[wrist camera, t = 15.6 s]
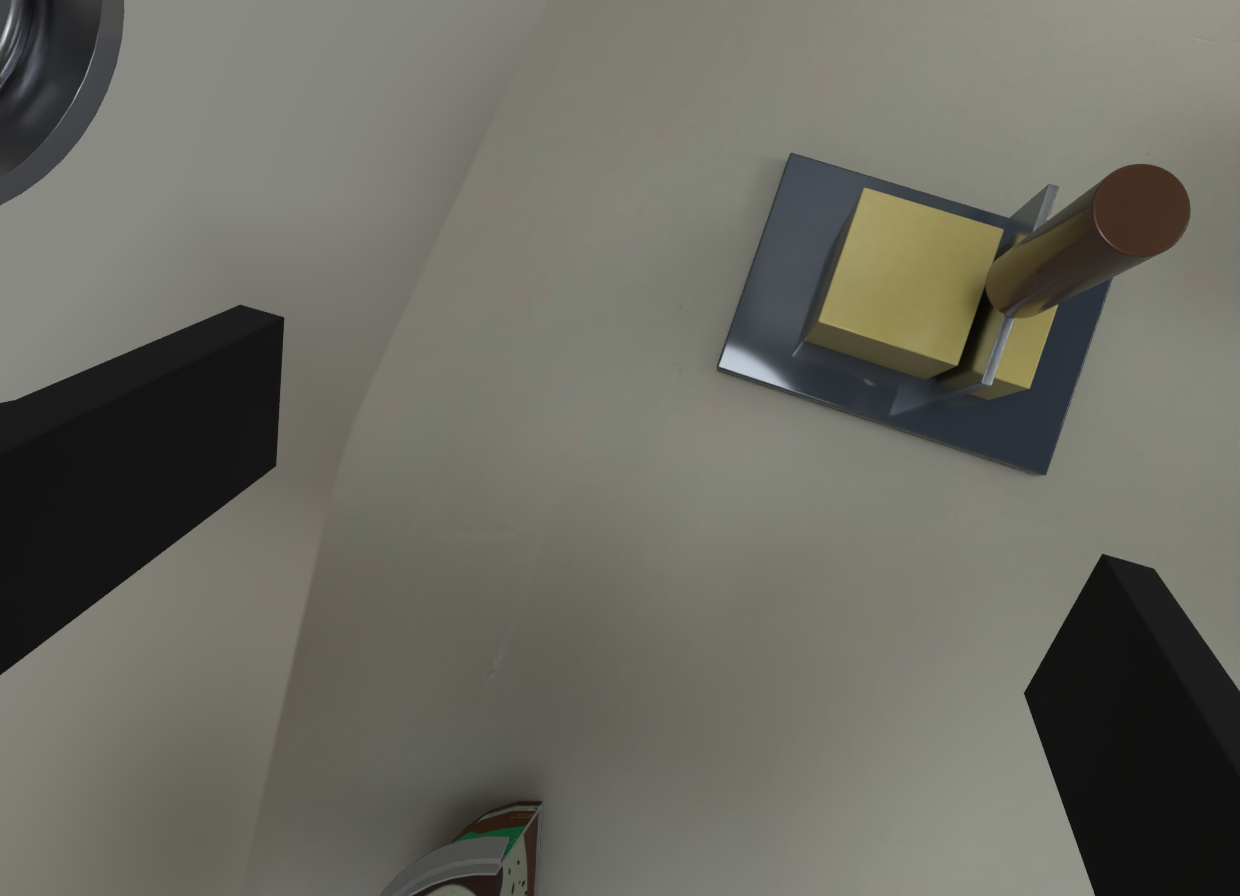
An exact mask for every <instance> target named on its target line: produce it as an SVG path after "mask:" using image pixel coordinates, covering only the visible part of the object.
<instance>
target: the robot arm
mask: <svg viewBox="0 0 1240 896" xmlns="http://www.w3.org/2000/svg"><path fill="white" fill-rule="evenodd" d="M33 7H34V0H0V89H1V88H2V86H3V85H4V83H5V82H6V81H7V79H8V78H9V76H10V75H11V73H12V71H13V70H14V68H15V66H16V64H17V62H18V60H19V58H20V56H21V54H22V52H23V49H24V46H25V43H26V41H27V38H28V34H29V30H30V26H31V21H32V15H33ZM283 330H284V317H281V316H277V315H274V314H271V313H267V312H264V311H260V310H256V309H253V308H249V307H246V306H243V305H238V306H236V307H234V308H231V309H229V310H227V311H225V312H222V313H220V314H217V315H215V316H212V317H210V318H208V319H205V320H203V321H201V322H198V323H196V324H194V325H191V326H189V327H187V328H184V329H182V330H179V331H177V332H175V333H172V334H170V335H168V336H165V337H163V338H161V339H158V340H156V341H154V342H151V343H149V344H146V345H144V346H142V347H139V348H137V349H135V350H132V351H130V352H128V353H125V354H123V355H121V356H118V357H116V358H113V359H111V360H109V361H106V362H104V363H102V364H99V365H97V366H95V367H92V368H90V369H88V370H85V371H83V372H81V373H78V374H76V375H73V376H71V377H69V378H66V379H64V380H61V381H59V382H57V383H54V384H52V385H50V386H47V387H45V388H43V389H41V390H38V391H36V392H33V393H31V394H28V395H26V396H24V397H22V398H19V399H17V400H13V401H8V402H3V403H0V675H1V674H2V673H3V672H5V671H6V670H8V669H9V668H10V667H12V666H13V665H14V664H15V663H17V662H18V661H19V660H21V659H22V658H24V657H25V656H26V655H27V654H29V653H30V652H31V651H33V650H34V649H35V648H37V647H38V646H39V645H41V644H42V643H43V642H45V641H46V640H47V639H49V638H50V637H51V636H52V635H54V634H55V633H57V632H58V631H59V630H60V629H62V628H63V627H64V626H66V625H67V624H68V623H70V622H71V621H72V620H73V619H75V618H76V617H78V616H79V615H80V614H81V613H83V612H84V611H85V610H87V609H88V608H89V607H91V606H92V605H93V604H95V603H96V602H97V601H99V600H100V599H101V598H103V597H104V596H105V595H107V594H108V593H109V592H111V591H112V590H113V589H115V588H116V587H117V586H118V585H120V584H121V583H122V582H124V581H125V580H126V579H128V578H129V577H130V576H132V575H133V574H134V573H136V572H137V571H138V570H140V569H141V568H142V567H143V566H145V565H146V564H147V563H149V562H150V561H151V560H153V559H154V558H155V557H157V556H158V555H159V554H161V553H162V552H163V551H165V550H166V549H167V548H169V547H170V546H171V545H173V544H174V543H175V542H176V541H178V540H179V539H180V538H182V537H183V536H184V535H186V534H187V533H188V532H190V531H191V530H192V529H193V528H195V527H196V526H197V525H199V524H200V523H201V522H203V521H204V520H205V519H207V518H208V517H209V516H211V515H212V514H213V513H214V512H216V511H217V510H219V509H220V508H221V507H223V506H224V505H225V504H226V503H228V502H229V501H230V500H232V499H233V498H234V497H236V496H237V495H238V494H240V493H241V492H242V491H244V490H245V489H246V488H248V487H249V486H250V485H251V484H253V483H254V482H255V481H257V480H258V479H260V478H261V477H262V476H264V475H265V474H266V473H267V472H269V471H270V470H271V469H273V468H274V467H275V466H276V457H277V438H278V421H279V402H280V385H281V367H282V349H283ZM1024 695H1025V698H1026V700H1027V703H1028V706H1029V709H1030V712H1031V715H1032V717H1033V720H1034V723H1035V726H1036V729H1037V732H1038V734H1039V737H1040V740H1041V743H1042V746H1043V749H1044V752H1045V754H1046V757H1047V760H1048V763H1049V766H1050V769H1051V771H1052V774H1053V777H1054V780H1055V783H1056V786H1057V788H1058V791H1059V794H1060V797H1061V800H1062V803H1063V806H1064V808H1065V811H1066V814H1067V817H1068V820H1069V823H1070V825H1071V828H1072V831H1073V834H1074V837H1075V840H1076V842H1077V845H1078V848H1079V851H1080V854H1081V857H1082V860H1083V862H1084V865H1085V868H1086V871H1087V874H1088V877H1089V879H1090V882H1091V885H1092V888H1093V891H1094V894H1095V896H1240V691H1239V690H1238V688H1237V687H1236V685H1235V684H1234V683H1233V681H1232V680H1231V678H1230V677H1229V675H1228V674H1227V673H1226V671H1225V670H1224V668H1223V667H1222V665H1221V664H1220V663H1219V661H1218V660H1217V658H1216V657H1215V655H1214V654H1213V652H1212V651H1211V650H1210V648H1209V647H1208V645H1207V644H1206V642H1205V641H1204V640H1203V638H1202V637H1201V635H1200V634H1199V632H1198V631H1197V630H1196V628H1195V627H1194V625H1193V624H1192V622H1191V621H1190V620H1189V618H1188V617H1187V615H1186V614H1185V612H1184V611H1183V609H1182V608H1181V607H1180V605H1179V604H1178V602H1177V601H1176V599H1175V598H1174V597H1173V595H1172V594H1171V592H1170V591H1169V589H1168V588H1167V587H1166V585H1165V584H1164V582H1163V581H1162V579H1161V578H1160V577H1159V575H1158V574H1157V572H1156V571H1155V569H1153V568H1150V567H1146V566H1143V565H1139V564H1136V563H1132V562H1129V561H1125V560H1122V559H1118V558H1115V557H1111V556H1108V555H1105V554H1102V555H1101V557H1100V559H1099V561H1098V562H1097V564H1096V566H1095V568H1094V569H1093V571H1092V573H1091V575H1090V577H1089V578H1088V580H1087V582H1086V584H1085V586H1084V587H1083V589H1082V591H1081V593H1080V594H1079V596H1078V598H1077V600H1076V602H1075V603H1074V605H1073V607H1072V609H1071V610H1070V612H1069V614H1068V616H1067V618H1066V619H1065V621H1064V623H1063V625H1062V627H1061V628H1060V630H1059V632H1058V634H1057V635H1056V637H1055V639H1054V641H1053V643H1052V644H1051V646H1050V648H1049V650H1048V651H1047V653H1046V655H1045V657H1044V659H1043V660H1042V662H1041V664H1040V666H1039V668H1038V669H1037V671H1036V673H1035V675H1034V676H1033V678H1032V680H1031V682H1030V684H1029V685H1028V687H1027V689H1026V691H1025V692H1024Z"/></svg>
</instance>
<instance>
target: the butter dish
mask: <svg viewBox="0 0 1240 896" xmlns="http://www.w3.org/2000/svg"><path fill="white" fill-rule="evenodd" d="M1007 219H1009V218H1007V217H1004V216H1000V215H997V214H994V213H990V212H987V211H984V210H980V209H977V208H974V207H970V206H967V205H964V204H960V203H957V202H954V201H950V200H947V199H944V198H940V197H937V196H934V195H930V194H927V193H924V192H921V191H917V190H914V189H911V188H907V187H904V186H901V185H897V184H894V183H891V182H887V181H884V180H881V179H877V178H874V177H871V176H867V175H864V174H861V173H857V172H854V171H851V170H847V169H844V168H841V167H837V166H834V165H831V164H827V163H824V162H821V161H817V160H814V159H811V158H807V157H804V156H801V155H797V154H794V153H790V155H789V158H788V161H787V164H786V167H785V170H784V173H783V176H782V179H781V181H780V184H779V187H778V190H777V193H776V196H775V199H774V202H773V205H772V208H771V211H770V214H769V216H768V219H767V222H766V225H765V228H764V231H763V234H762V237H761V240H760V243H759V246H758V249H757V251H756V254H755V257H754V260H753V263H752V266H751V269H750V272H749V275H748V278H747V281H746V284H745V286H744V289H743V292H742V295H741V298H740V301H739V304H738V307H737V310H736V313H735V316H734V319H733V321H732V324H731V327H730V330H729V333H728V336H727V339H726V342H725V345H724V348H723V351H722V354H721V356H720V359H719V362H718V365H717V370H718V371H721V372H724V373H727V374H730V375H733V376H736V377H739V378H742V379H745V380H748V381H751V382H754V383H757V384H760V385H763V386H766V387H769V388H773V389H776V390H779V391H782V392H785V393H788V394H791V395H794V396H797V397H800V398H803V399H806V400H809V401H812V402H815V403H818V404H821V405H824V406H827V407H830V408H833V409H836V410H839V411H842V412H845V413H848V414H851V415H855V416H858V417H861V418H864V419H867V420H870V421H873V422H876V423H879V424H882V425H885V426H888V427H891V428H894V429H897V430H900V431H903V432H906V433H909V434H912V435H915V436H918V437H921V438H924V439H927V440H930V441H933V442H937V443H940V444H943V445H946V446H949V447H952V448H955V449H958V450H961V451H964V452H967V453H970V454H973V455H976V456H979V457H982V458H985V459H988V460H991V461H994V462H997V463H1000V464H1003V465H1006V466H1009V467H1012V468H1015V469H1019V470H1022V471H1025V472H1028V473H1031V474H1034V475H1046V473H1047V470H1048V467H1049V464H1050V462H1051V459H1052V456H1053V453H1054V450H1055V447H1056V444H1057V441H1058V438H1059V435H1060V432H1061V429H1062V426H1063V423H1064V420H1065V417H1066V414H1067V411H1068V408H1069V405H1070V403H1071V400H1072V397H1073V394H1074V391H1075V388H1076V385H1077V382H1078V379H1079V376H1080V373H1081V370H1082V367H1083V364H1084V361H1085V358H1086V355H1087V352H1088V349H1089V347H1090V344H1091V341H1092V338H1093V335H1094V332H1095V329H1096V326H1097V323H1098V320H1099V317H1100V314H1101V311H1102V308H1103V305H1104V302H1105V299H1106V296H1107V293H1108V290H1109V288H1110V285H1111V282H1112V279H1113V277H1112V278H1110V279H1108V280H1106V281H1104V282H1102V283H1100V284H1098V285H1096V286H1094V287H1092V288H1090V289H1088V290H1086V291H1084V292H1082V293H1080V294H1078V295H1076V296H1074V297H1072V298H1070V299H1068V300H1066V301H1064V302H1062V303H1060V304H1058V305H1056V306H1054V307H1052V308H1050V309H1048V310H1046V311H1044V312H1042V313H1040V314H1038V315H1036V316H1033V317H1029V318H1014V321H1013V324H1012V327H1011V330H1010V332H1009V335H1008V338H1007V341H1006V344H1005V347H1004V350H1003V353H1002V356H1001V359H1000V362H999V365H998V368H997V371H996V374H995V377H994V380H993V382H992V385H991V386H990V387H987V388H984V389H981V390H978V391H975V392H972V393H969V394H966V395H963V396H960V397H957V398H954V399H951V400H948V401H945V402H942V403H939V404H936V405H932V404H929V403H927V399H928V396H929V393H930V390H931V387H932V384H933V381H934V378H935V376H936V375H938V374H941V373H943V372H945V371H947V370H949V369H952V368H954V367H956V366H958V364H959V361H960V358H961V355H962V352H963V349H964V346H965V343H966V341H967V338H968V335H969V332H970V329H971V326H972V323H973V320H974V317H975V314H976V311H977V308H978V305H979V302H980V299H981V296H982V294H983V291H984V288H985V285H986V283H985V282H986V276H987V273H988V271H989V269H990V267H991V265H992V264H993V261H994V258H995V255H996V252H997V249H998V246H999V244H1000V241H1001V238H1002V235H1003V232H1004V230H1003V229H1001V228H998V227H999V226H1000V225H1002V224H1003V223H1004V222H1005V221H1006V220H1007Z"/></svg>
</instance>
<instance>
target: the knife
mask: <svg viewBox="0 0 1240 896" xmlns="http://www.w3.org/2000/svg"><path fill="white" fill-rule="evenodd" d="M1058 188H1059V187H1058V186H1055V185H1051V184H1048V185H1047V186H1046V187H1045V188H1044V189H1043V190H1041V191H1040V192H1039V193H1038V194H1037V195H1036V196H1034V197H1033V198H1032V199H1031V200H1030V201H1029V202H1027V203H1026V204H1025V205H1024V206H1023V207H1022V208H1020V209H1019V210H1018V211H1017V212H1016V213H1014V214H1013V215H1012V216H1011V217H1010V218H1009V219H1007V220H1006V221H1005V222H1004V223H1003V224H1002V225H1000V226H999V227H998V228H1001V229H1003V230H1004V232H1003V235H1002V238H1001V241H1000V244H999V246H998V249H997V252H996V255H995V258H994V261H993V264H992V265H991V267H990V269H989V271H988V273H987V276H986V282H985V283H986V285H985V288H984V291H983V294H982V296H981V299H980V302H979V305H978V308H977V311H976V314H975V317H974V320H973V323H972V326H971V329H970V332H969V335H968V338H967V341H966V343H965V346H964V349H963V352H962V355H961V358H960V361H959V364H958V366H956V367H954V368H952V369H949V370H947V371H945V372H943V373H941V374H938V375H936V376H935V378H934V381H933V384H932V387H931V390H930V393H929V396H928V399H927V403H929V404H932V405H936V404H939V403H942V402H945V401H948V400H951V399H954V398H957V397H960V396H963V395H966V394H969V393H972V392H975V391H978V390H981V389H984V388H987V387H990V386H991V385H992V382H993V380H994V377H995V374H996V371H997V368H998V365H999V362H1000V359H1001V356H1002V353H1003V350H1004V347H1005V344H1006V341H1007V338H1008V335H1009V332H1010V330H1011V327H1012V324H1013V321H1014V318H1029V317H1033V316H1036V315H1038V314H1040V313H1042V312H1044V311H1046V310H1048V309H1050V308H1052V307H1054V306H1056V305H1058V304H1060V303H1062V302H1064V301H1066V300H1068V299H1070V298H1072V297H1074V296H1076V295H1078V294H1080V293H1082V292H1084V291H1086V290H1088V289H1090V288H1092V287H1094V286H1096V285H1098V284H1100V283H1102V282H1104V281H1106V280H1108V279H1110V278H1112V277H1114V276H1116V275H1118V274H1120V273H1122V272H1124V271H1126V270H1128V269H1130V268H1132V267H1134V266H1136V265H1138V264H1140V263H1142V262H1144V261H1146V260H1148V259H1150V258H1152V257H1154V256H1156V255H1158V254H1160V253H1163V252H1164V251H1166V250H1168V249H1169V248H1171V247H1172V246H1173V245H1175V244H1176V243H1177V242H1178V241H1179V239H1180V238H1181V237H1182V235H1183V234H1184V232H1185V230H1186V228H1187V225H1188V222H1189V218H1190V201H1189V197H1188V194H1187V192H1186V190H1185V188H1184V186H1183V185H1182V183H1181V182H1180V181H1179V180H1178V179H1177V178H1176V177H1175V176H1174V175H1173V174H1171V173H1170V172H1168V171H1167V170H1165V169H1163V168H1160V167H1157V166H1153V165H1148V164H1134V165H1128V166H1125V167H1122V168H1120V169H1117V170H1116V171H1114V172H1112V173H1111V174H1109V175H1108V176H1107V177H1105V178H1104V179H1103V180H1101V181H1100V182H1099V183H1097V184H1096V185H1095V186H1093V187H1092V188H1091V189H1089V190H1088V191H1087V192H1085V193H1084V194H1083V195H1082V196H1080V197H1079V198H1078V199H1076V200H1075V201H1074V202H1072V203H1071V204H1070V205H1068V206H1067V207H1066V208H1064V209H1063V210H1062V211H1060V212H1059V213H1058V214H1056V215H1055V216H1054V217H1052V218H1051V219H1050V220H1048V218H1049V215H1050V212H1051V209H1052V206H1053V203H1054V200H1055V197H1056V194H1057V191H1058Z"/></svg>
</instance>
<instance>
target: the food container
mask: <svg viewBox="0 0 1240 896" xmlns="http://www.w3.org/2000/svg"><path fill="white" fill-rule="evenodd" d="M542 804H543V802H517V803H514V804H510V805H507V806H503V807H500V808H497V809H493V810H490V811H489V812H487V813H486V814H484V815H483V816H482V817H480V818H479V819H477V820H476V821H474V822H473V823H472V824H470V825H469V826H467V827H466V828H465V829H464V830H463V831H462V832H461V833H460V834H459V835H458V836H457V837H456V838H455V839H454V840H453V841H452V842H451V844H450V845H447V846H444V847H441V848H438V849H437V850H435V851H433V852H431V853H429V854H427V855H425V856H423V857H421V858H419V859H418V860H417V861H415V862H414V863H413V864H411V865H410V866H409V867H407V868H406V869H405V870H403V871H402V872H401V873H400V874H399V875H398V876H397V877H396V878H395V879H394V880H393V881H392V882H391V883H390V884H389V885H388V886H387V887H386V888H385V889H384V891H383V892H382V894H381V895H380V896H538V877H539V859H540V841H541V822H542Z"/></svg>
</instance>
